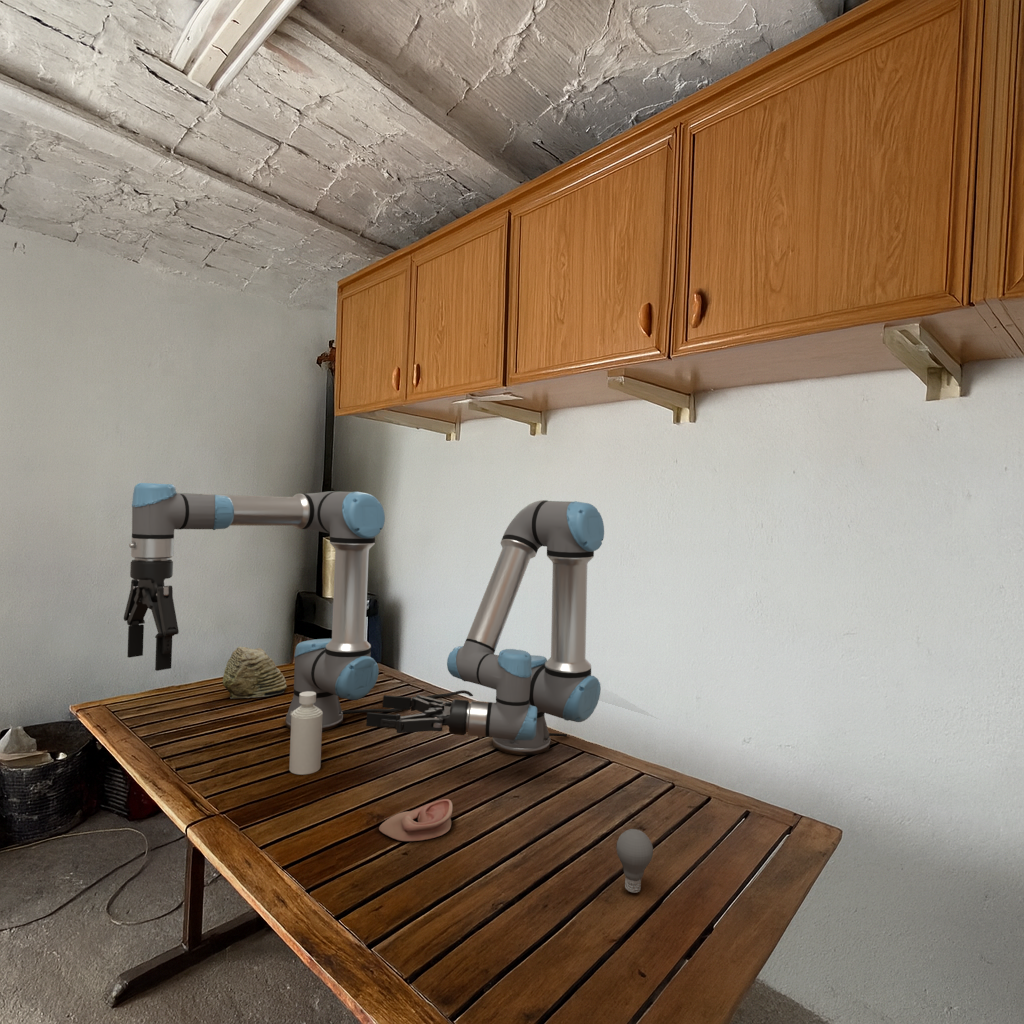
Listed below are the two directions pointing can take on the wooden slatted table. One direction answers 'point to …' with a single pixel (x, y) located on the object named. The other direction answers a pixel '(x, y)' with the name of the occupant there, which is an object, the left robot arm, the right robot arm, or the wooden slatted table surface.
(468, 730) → the right robot arm
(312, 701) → the cap
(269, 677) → the fossil
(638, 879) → the light bulb
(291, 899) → the wooden slatted table surface
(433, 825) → the anatomical model
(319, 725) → the bottle
